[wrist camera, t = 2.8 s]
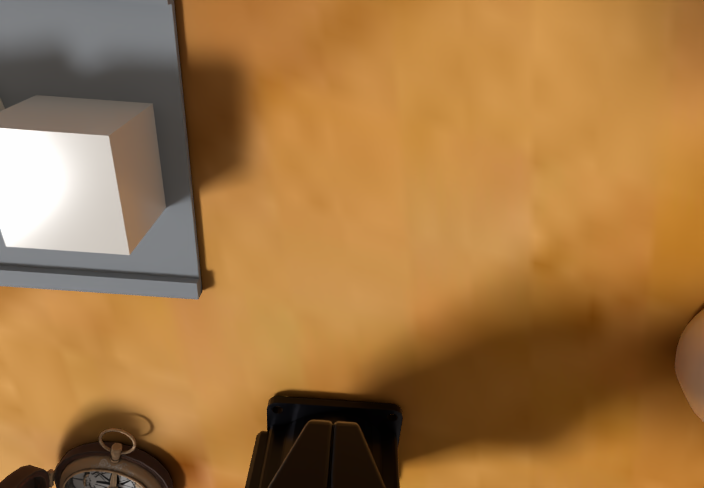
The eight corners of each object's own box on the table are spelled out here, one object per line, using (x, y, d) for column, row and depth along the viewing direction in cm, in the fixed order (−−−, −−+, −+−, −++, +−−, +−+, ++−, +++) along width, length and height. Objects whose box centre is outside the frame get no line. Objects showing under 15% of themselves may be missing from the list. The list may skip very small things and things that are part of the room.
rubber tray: (171, -26, 16) (164, -25, 16) (202, 291, 22) (198, 299, 22) (-219, -55, 16) (-239, -55, 15) (-81, 271, 22) (-92, 279, 21)
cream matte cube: (152, 103, 18) (108, 136, 15) (166, 207, 20) (129, 255, 17) (36, 95, 18) (-32, 125, 15) (61, 200, 20) (6, 246, 17)
